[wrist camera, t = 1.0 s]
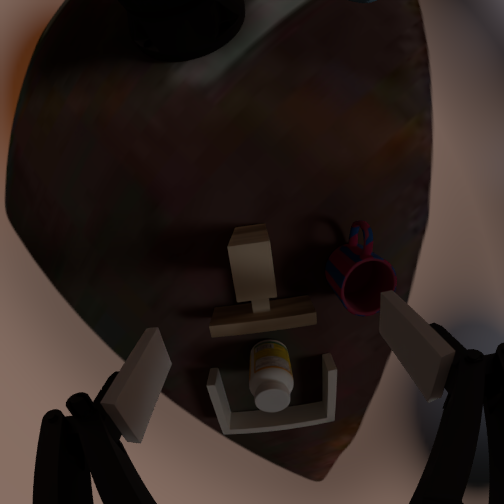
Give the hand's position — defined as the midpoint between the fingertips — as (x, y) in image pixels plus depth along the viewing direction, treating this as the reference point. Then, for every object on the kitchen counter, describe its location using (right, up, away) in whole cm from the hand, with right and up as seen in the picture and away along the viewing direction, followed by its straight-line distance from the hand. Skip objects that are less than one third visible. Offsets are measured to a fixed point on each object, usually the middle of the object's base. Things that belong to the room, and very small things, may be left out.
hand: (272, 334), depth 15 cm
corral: (+2, -16, +23) cm, 28 cm away
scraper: (-1, +2, +19) cm, 19 cm away
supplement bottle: (+1, -10, +22) cm, 24 cm away
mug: (+11, +4, +18) cm, 22 cm away
